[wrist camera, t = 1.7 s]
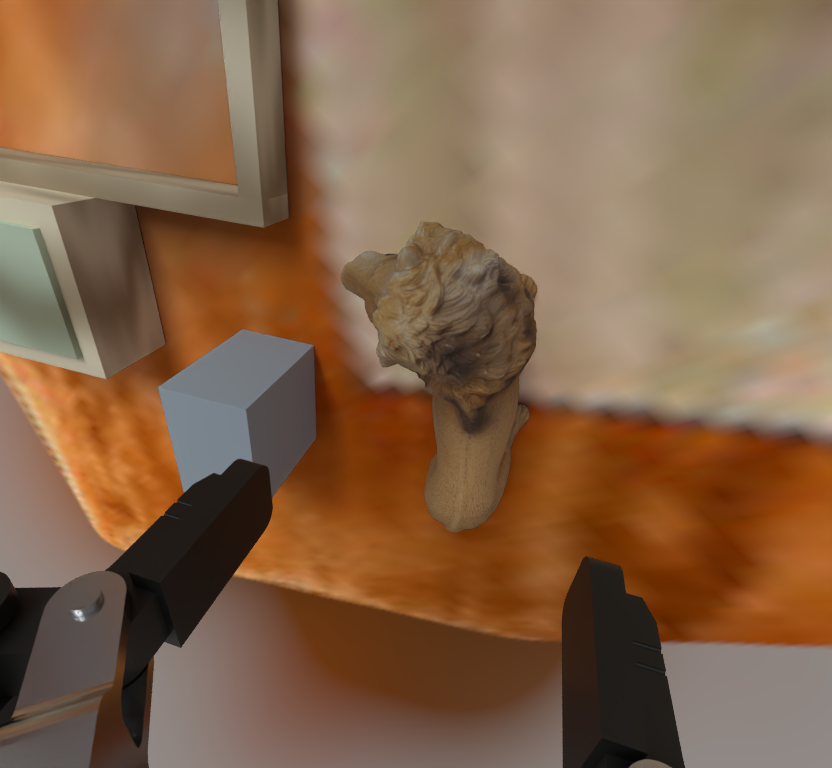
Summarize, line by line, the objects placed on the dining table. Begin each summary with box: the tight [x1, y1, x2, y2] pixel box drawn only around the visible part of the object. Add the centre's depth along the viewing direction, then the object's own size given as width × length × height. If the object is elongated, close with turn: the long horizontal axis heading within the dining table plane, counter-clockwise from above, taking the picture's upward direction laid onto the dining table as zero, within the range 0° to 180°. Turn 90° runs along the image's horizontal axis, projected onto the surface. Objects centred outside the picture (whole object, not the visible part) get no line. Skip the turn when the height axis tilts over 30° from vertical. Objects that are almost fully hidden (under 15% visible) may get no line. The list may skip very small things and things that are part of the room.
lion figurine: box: [341, 222, 537, 532], centre depth 17 cm, size 15×5×9 cm, turn 10°
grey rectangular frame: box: [0, 0, 289, 379], centre depth 17 cm, size 26×18×4 cm
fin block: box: [158, 329, 316, 497], centre depth 22 cm, size 6×4×6 cm, turn 174°
